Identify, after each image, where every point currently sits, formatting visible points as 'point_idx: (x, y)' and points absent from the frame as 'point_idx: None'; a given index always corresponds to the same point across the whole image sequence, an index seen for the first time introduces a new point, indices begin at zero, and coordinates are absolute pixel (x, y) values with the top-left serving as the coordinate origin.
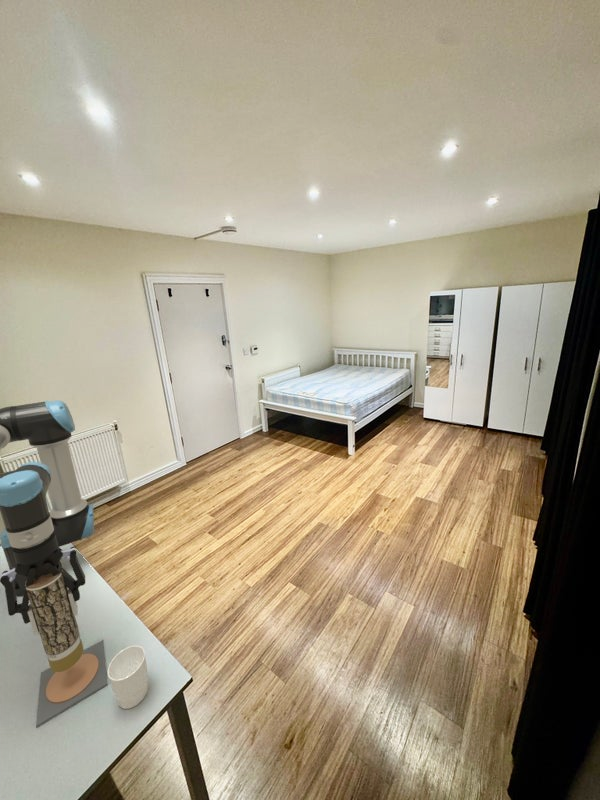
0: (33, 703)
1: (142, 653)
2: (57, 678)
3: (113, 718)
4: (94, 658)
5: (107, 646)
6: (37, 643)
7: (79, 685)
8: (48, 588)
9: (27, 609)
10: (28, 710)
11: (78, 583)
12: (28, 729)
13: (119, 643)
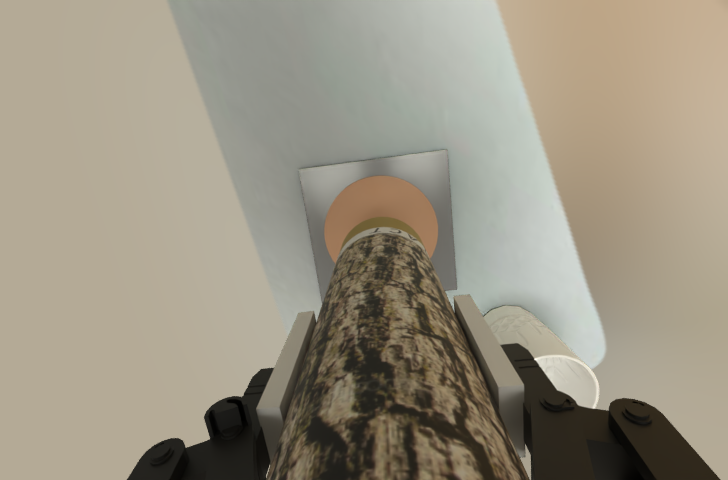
0: (302, 242)
1: (584, 372)
2: (344, 219)
3: None
4: (428, 210)
5: (456, 174)
6: (258, 40)
7: None
8: None
9: (266, 469)
10: (296, 253)
11: (603, 476)
12: (308, 295)
13: (487, 182)
